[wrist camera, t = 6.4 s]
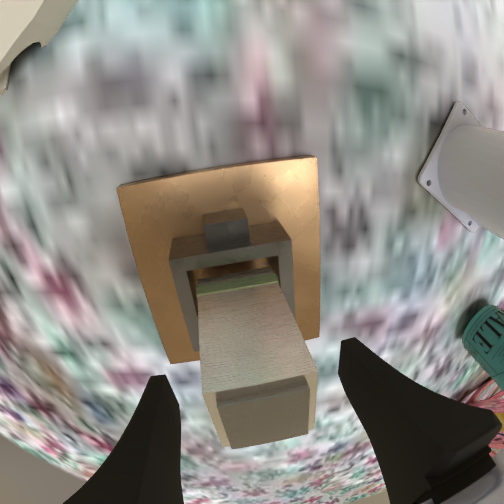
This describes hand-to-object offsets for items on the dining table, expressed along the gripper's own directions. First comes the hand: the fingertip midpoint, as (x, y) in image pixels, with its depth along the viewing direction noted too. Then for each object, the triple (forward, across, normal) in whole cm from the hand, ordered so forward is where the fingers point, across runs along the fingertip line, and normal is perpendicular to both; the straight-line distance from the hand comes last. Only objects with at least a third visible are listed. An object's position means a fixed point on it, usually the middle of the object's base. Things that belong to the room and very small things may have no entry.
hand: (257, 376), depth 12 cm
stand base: (+10, 0, +1) cm, 10 cm away
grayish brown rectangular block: (+6, 0, +1) cm, 6 cm away
